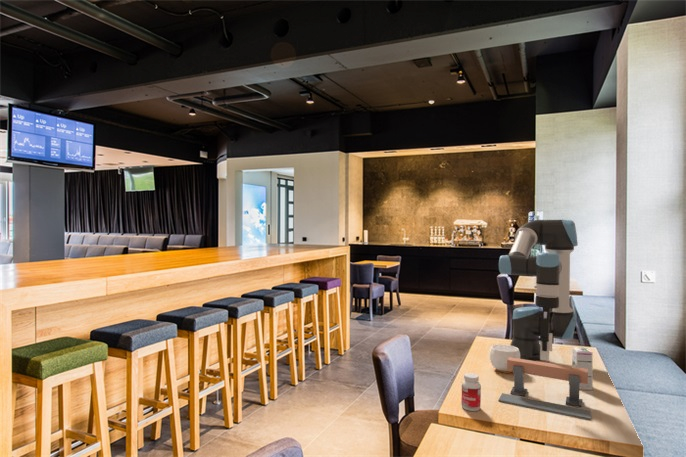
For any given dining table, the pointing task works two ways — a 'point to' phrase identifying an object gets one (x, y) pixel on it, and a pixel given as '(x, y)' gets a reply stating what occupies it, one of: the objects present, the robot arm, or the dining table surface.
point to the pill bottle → (471, 392)
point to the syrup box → (583, 364)
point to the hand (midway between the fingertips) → (546, 355)
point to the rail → (548, 369)
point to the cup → (502, 356)
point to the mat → (546, 406)
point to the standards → (571, 400)
